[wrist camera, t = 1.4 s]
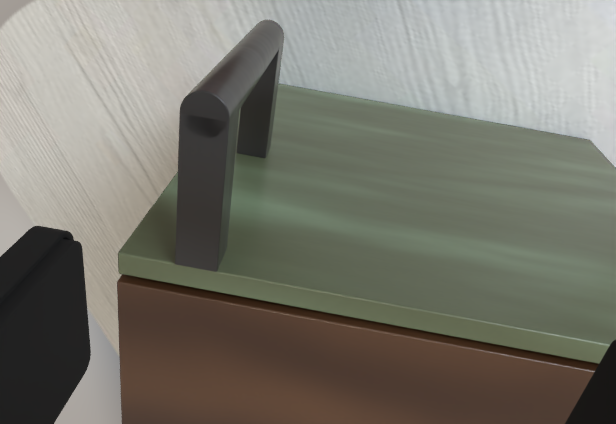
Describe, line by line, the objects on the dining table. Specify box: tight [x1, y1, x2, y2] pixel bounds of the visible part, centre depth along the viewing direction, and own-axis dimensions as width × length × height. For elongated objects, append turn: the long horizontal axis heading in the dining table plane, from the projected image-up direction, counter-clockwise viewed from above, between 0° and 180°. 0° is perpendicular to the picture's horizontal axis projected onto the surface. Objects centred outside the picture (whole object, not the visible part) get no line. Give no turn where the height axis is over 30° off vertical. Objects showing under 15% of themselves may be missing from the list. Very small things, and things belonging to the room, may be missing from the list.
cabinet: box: [117, 274, 599, 424], centre depth 35 cm, size 18×26×24 cm
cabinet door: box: [118, 20, 616, 364], centre depth 29 cm, size 8×26×24 cm, turn 81°
